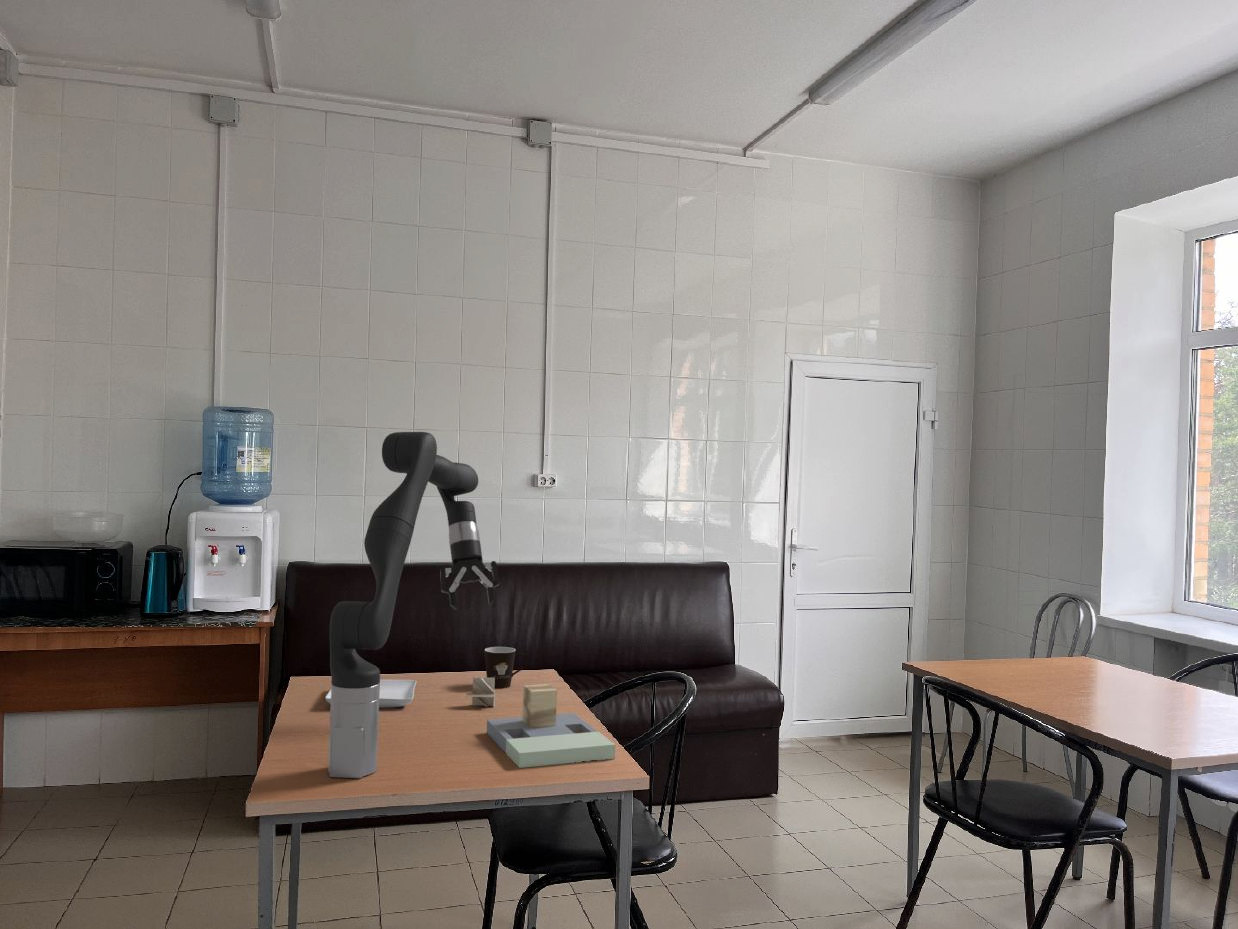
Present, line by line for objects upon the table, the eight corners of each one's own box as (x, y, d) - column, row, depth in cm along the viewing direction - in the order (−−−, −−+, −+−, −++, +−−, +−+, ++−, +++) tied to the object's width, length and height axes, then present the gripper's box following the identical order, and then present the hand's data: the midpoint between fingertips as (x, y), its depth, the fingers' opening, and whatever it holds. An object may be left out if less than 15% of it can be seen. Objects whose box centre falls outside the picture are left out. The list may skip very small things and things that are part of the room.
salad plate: (416, 690, 249) (417, 678, 249) (412, 711, 228) (413, 697, 228) (335, 691, 245) (335, 678, 245) (323, 712, 224) (324, 698, 224)
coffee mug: (479, 688, 253) (480, 651, 253) (488, 681, 261) (490, 646, 261) (520, 691, 251) (521, 654, 251) (528, 684, 259) (529, 648, 259)
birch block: (555, 725, 207) (557, 690, 207) (530, 727, 205) (531, 691, 205) (547, 718, 213) (548, 684, 213) (522, 720, 211) (523, 685, 211)
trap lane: (615, 758, 195) (615, 744, 195) (519, 768, 186) (519, 753, 186) (573, 725, 219) (573, 713, 219) (486, 732, 210) (487, 719, 210)
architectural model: (493, 710, 231) (494, 681, 231) (465, 710, 231) (466, 680, 231) (494, 707, 235) (495, 677, 235) (467, 706, 235) (468, 677, 235)
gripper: (436, 541, 225) (444, 606, 219) (494, 535, 228) (503, 599, 223) (435, 550, 232) (443, 613, 226) (492, 543, 235) (500, 606, 230)
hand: (473, 606), depth 225 cm, fingers open, 8 cm apart
